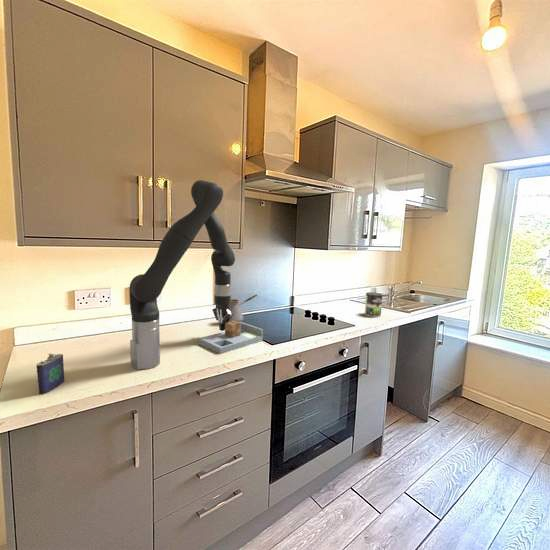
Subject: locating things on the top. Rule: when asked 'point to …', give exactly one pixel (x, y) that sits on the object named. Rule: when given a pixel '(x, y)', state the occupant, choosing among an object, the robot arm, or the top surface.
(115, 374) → the top surface
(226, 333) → the block
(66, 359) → the top surface
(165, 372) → the top surface
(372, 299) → the coffee can
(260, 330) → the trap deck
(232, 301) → the coffee pot
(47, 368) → the flask
